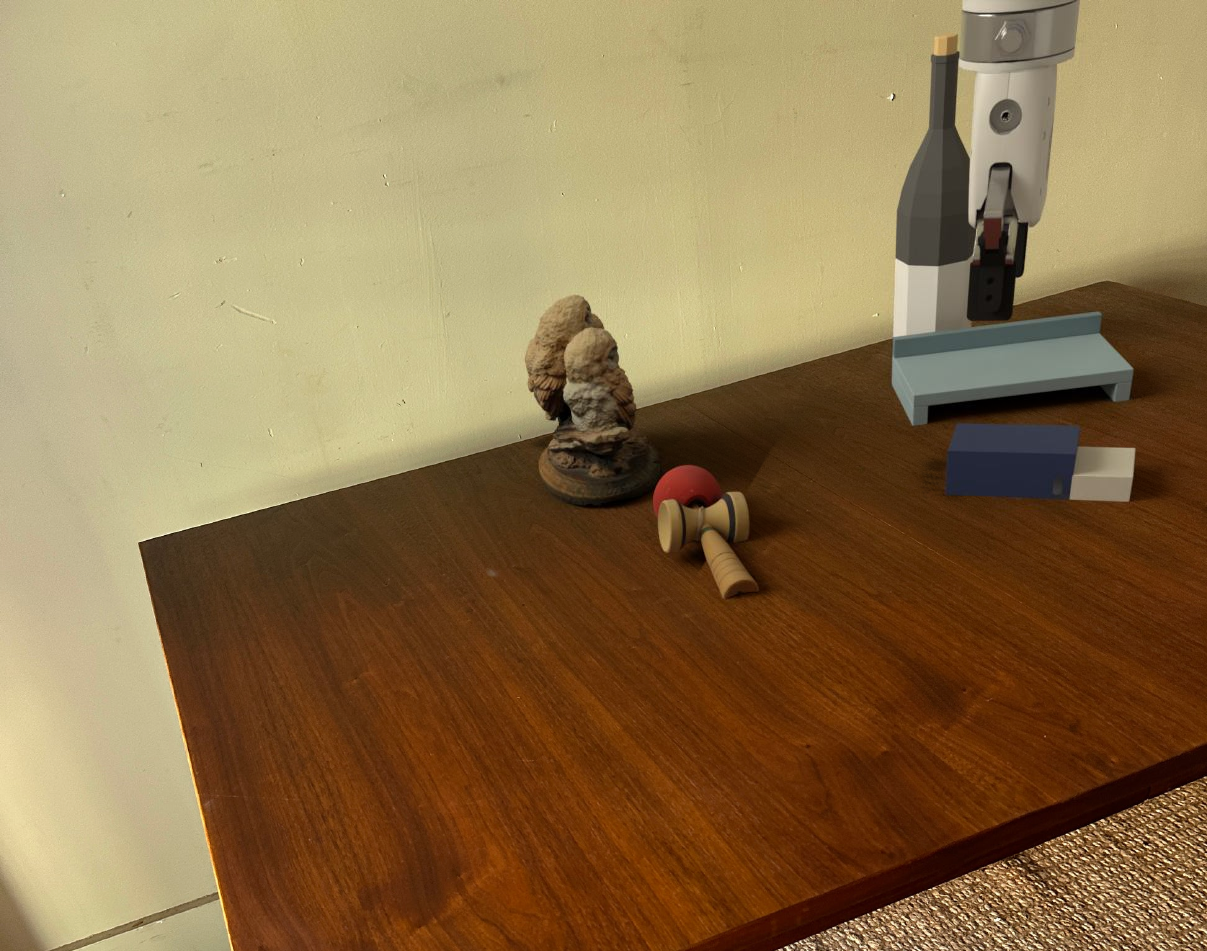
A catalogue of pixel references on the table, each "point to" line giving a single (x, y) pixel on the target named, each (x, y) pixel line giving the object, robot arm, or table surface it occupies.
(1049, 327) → the shelf
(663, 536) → the kendama
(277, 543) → the table surface
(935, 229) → the wine bottle
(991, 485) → the navy block on base
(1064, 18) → the robot arm
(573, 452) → the owl figurine
